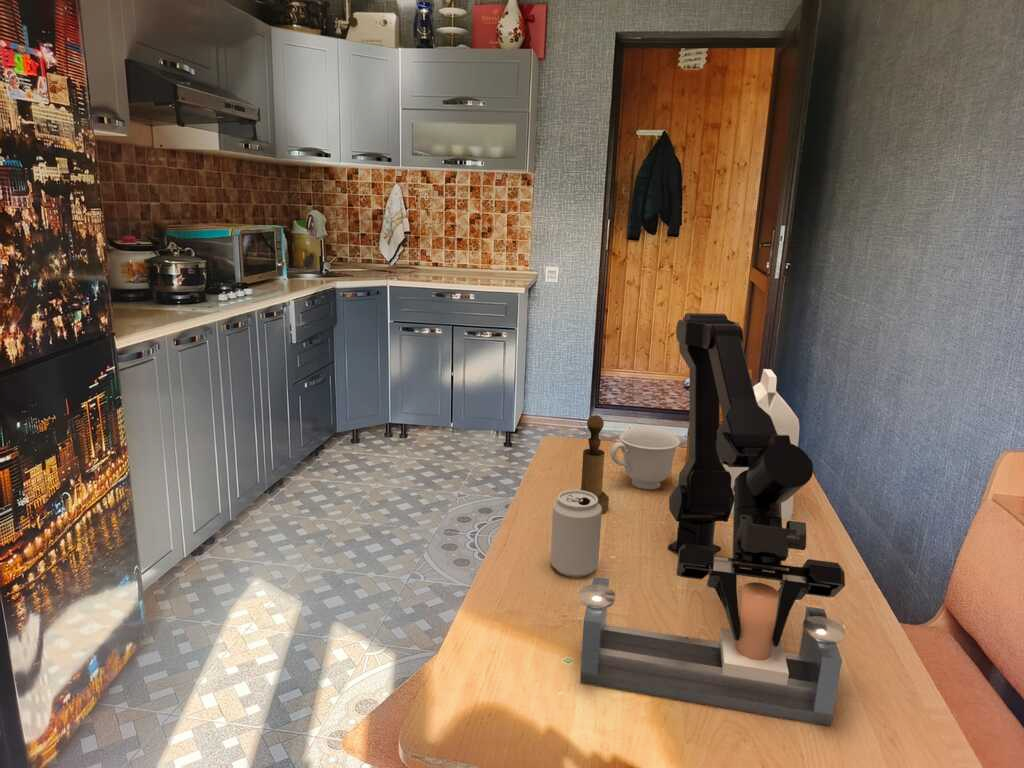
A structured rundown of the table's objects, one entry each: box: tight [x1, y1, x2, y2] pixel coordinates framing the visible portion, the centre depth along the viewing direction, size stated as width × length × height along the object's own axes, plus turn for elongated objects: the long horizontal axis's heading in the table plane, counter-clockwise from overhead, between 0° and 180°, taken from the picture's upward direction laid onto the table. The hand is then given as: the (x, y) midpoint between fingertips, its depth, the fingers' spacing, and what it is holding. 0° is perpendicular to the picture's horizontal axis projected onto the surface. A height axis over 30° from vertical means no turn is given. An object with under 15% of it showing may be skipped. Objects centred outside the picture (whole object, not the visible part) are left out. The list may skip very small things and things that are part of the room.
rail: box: [578, 576, 846, 727], centre depth 84 cm, size 30×10×9 cm, turn 77°
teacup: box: [609, 427, 681, 490], centre depth 140 cm, size 12×15×10 cm
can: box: [550, 489, 602, 578], centre depth 108 cm, size 8×8×12 cm
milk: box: [723, 368, 800, 521], centre depth 131 cm, size 12×12×26 cm
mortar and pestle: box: [579, 414, 610, 515], centre depth 128 cm, size 7×6×18 cm
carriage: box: [719, 581, 789, 685], centre depth 82 cm, size 7×7×9 cm
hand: (756, 643), depth 81 cm, fingers closed on carriage, 4 cm apart
